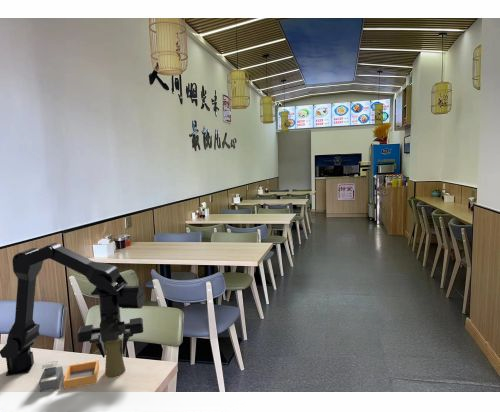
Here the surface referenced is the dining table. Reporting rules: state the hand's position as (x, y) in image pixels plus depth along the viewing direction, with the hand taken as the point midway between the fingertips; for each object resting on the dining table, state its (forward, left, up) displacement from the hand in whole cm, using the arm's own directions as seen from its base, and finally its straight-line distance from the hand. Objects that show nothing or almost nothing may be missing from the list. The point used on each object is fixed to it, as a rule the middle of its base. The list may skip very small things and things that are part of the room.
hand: (113, 355), depth 119 cm
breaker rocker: (-18, 0, 0) cm, 18 cm away
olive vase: (0, 0, -6) cm, 6 cm away
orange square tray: (-9, 0, -6) cm, 11 cm away
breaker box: (-18, 0, -6) cm, 19 cm away
